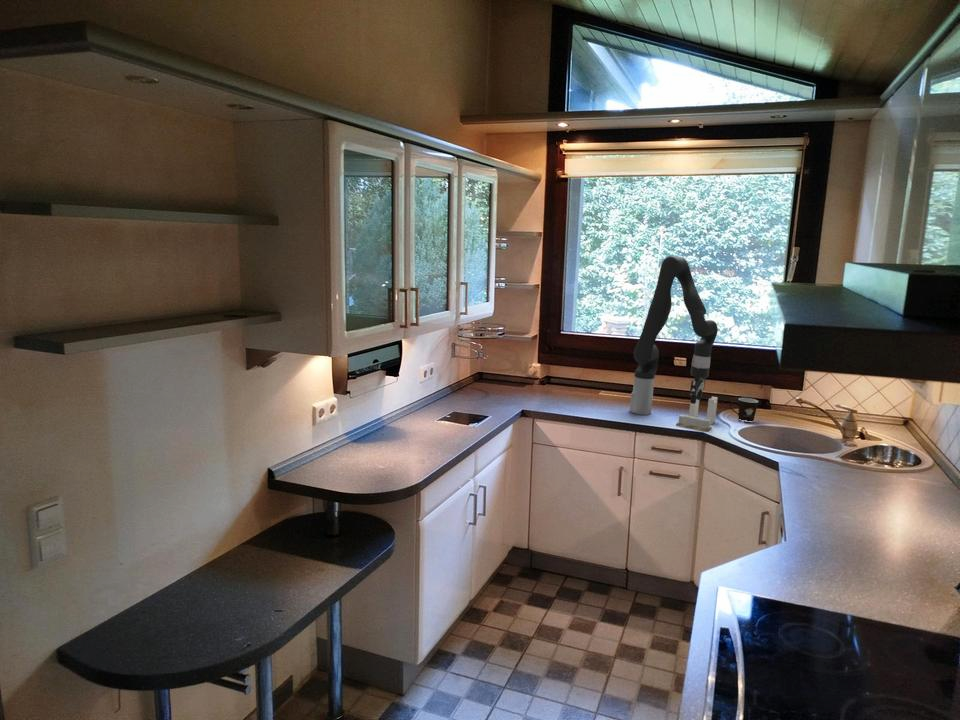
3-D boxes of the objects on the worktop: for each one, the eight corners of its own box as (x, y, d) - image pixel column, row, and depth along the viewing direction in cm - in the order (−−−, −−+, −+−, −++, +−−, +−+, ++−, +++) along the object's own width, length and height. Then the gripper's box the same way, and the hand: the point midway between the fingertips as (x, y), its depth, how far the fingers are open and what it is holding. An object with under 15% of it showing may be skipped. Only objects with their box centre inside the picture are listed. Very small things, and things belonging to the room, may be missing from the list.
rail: (678, 423, 296) (679, 415, 295) (680, 421, 299) (681, 414, 298) (708, 429, 289) (708, 421, 288) (710, 427, 292) (711, 419, 291)
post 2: (705, 423, 301) (708, 398, 299) (709, 420, 306) (712, 396, 304) (711, 424, 300) (714, 399, 297) (714, 421, 305) (717, 397, 302)
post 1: (688, 420, 305) (690, 395, 303) (691, 417, 310) (694, 393, 308) (693, 421, 304) (696, 396, 302) (697, 418, 309) (700, 394, 307)
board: (676, 425, 295) (676, 423, 295) (680, 422, 300) (680, 420, 300) (708, 431, 288) (708, 430, 288) (711, 428, 293) (711, 426, 293)
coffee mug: (757, 420, 310) (759, 400, 308) (753, 424, 302) (756, 403, 300) (731, 416, 315) (733, 395, 314) (727, 420, 308) (730, 399, 306)
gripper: (696, 361, 296) (691, 396, 300) (687, 366, 285) (682, 402, 288) (713, 364, 292) (708, 400, 296) (704, 369, 281) (699, 406, 284)
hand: (695, 401), depth 292 cm, fingers open, 8 cm apart
